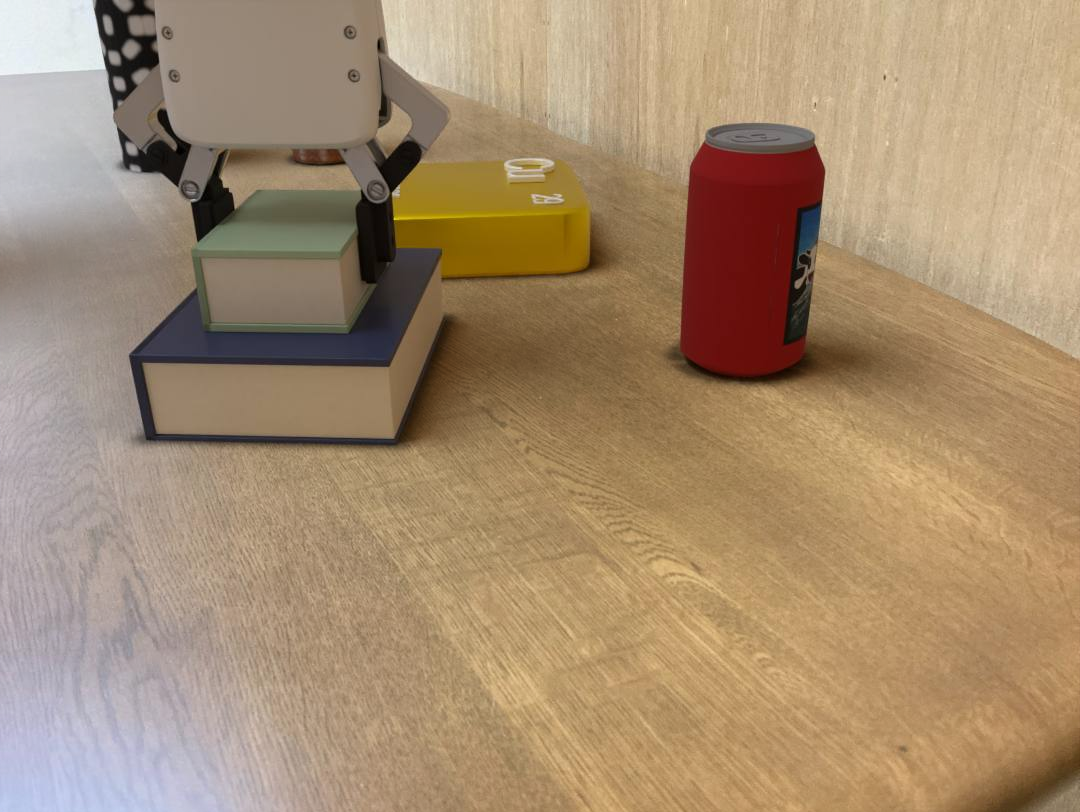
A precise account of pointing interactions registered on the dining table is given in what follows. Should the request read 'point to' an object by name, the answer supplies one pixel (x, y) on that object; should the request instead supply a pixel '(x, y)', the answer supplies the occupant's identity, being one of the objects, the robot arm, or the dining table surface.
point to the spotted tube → (130, 63)
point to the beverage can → (750, 248)
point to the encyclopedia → (295, 370)
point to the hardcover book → (283, 265)
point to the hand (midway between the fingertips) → (300, 272)
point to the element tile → (495, 217)
